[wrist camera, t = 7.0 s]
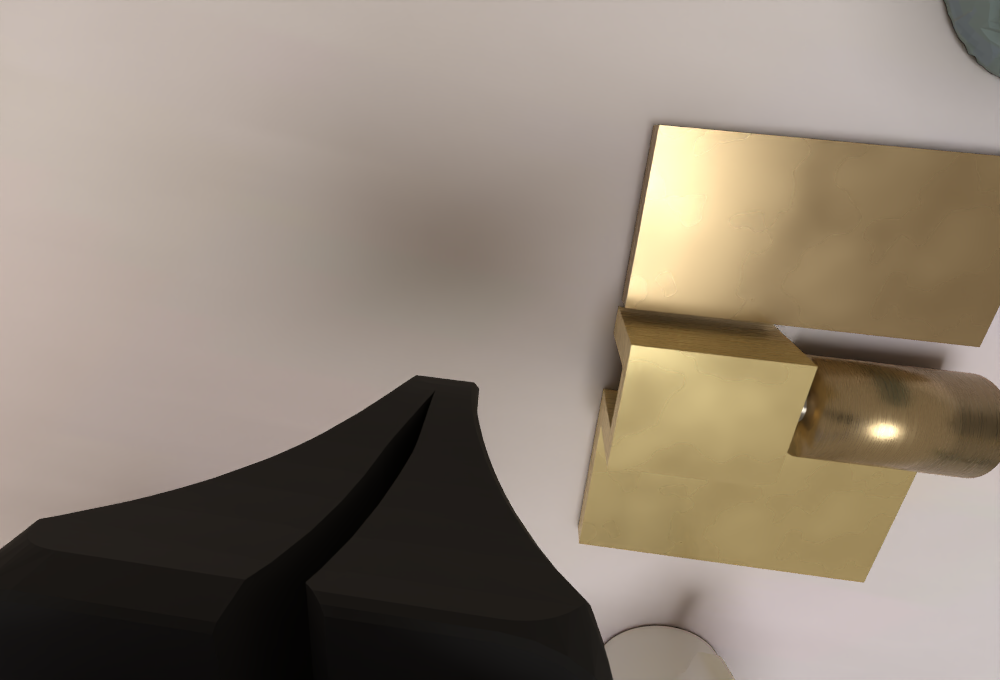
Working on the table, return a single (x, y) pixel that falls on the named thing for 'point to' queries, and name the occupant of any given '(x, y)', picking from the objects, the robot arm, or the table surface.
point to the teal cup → (978, 29)
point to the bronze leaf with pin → (837, 277)
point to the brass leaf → (725, 455)
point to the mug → (663, 656)
